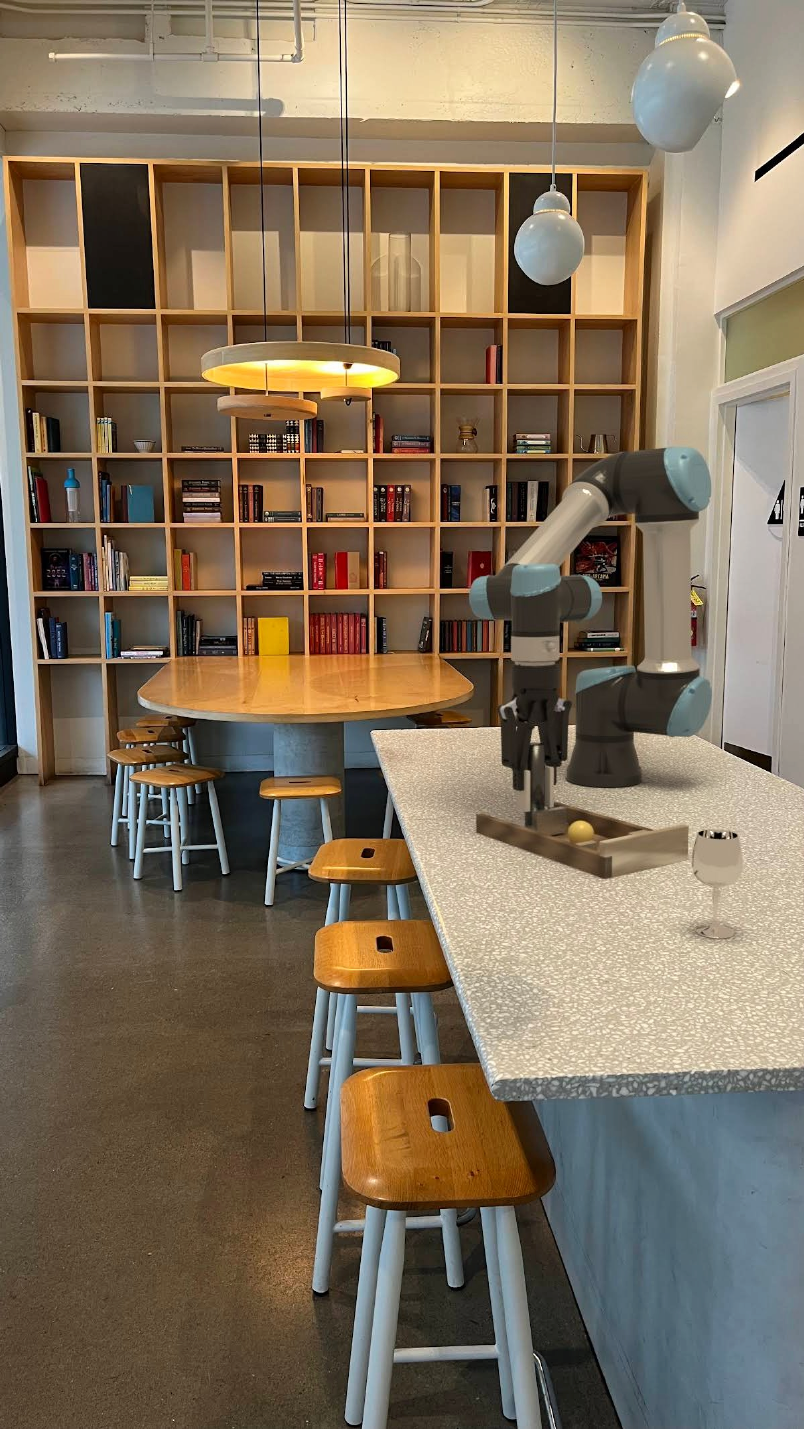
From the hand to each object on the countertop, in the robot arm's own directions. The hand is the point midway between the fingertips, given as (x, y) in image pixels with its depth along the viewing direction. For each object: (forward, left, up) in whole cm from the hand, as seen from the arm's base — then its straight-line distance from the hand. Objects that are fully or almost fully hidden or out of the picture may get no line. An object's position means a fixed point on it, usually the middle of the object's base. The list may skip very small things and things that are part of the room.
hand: (534, 807), depth 164 cm
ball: (+11, 0, -4) cm, 12 cm away
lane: (+10, 0, -5) cm, 11 cm away
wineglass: (+45, -9, -5) cm, 46 cm away
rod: (+1, 0, -4) cm, 4 cm away
